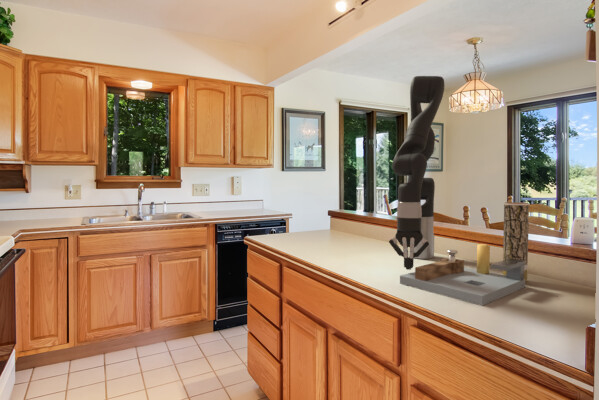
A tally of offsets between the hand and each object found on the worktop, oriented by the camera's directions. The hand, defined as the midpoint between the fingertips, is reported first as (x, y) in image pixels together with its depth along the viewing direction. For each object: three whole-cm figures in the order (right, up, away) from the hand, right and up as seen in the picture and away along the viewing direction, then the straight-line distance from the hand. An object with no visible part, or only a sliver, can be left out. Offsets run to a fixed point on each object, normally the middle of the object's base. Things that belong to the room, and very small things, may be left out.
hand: (408, 269), depth 119 cm
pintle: (+15, -4, +2) cm, 15 cm away
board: (+14, -4, -6) cm, 16 cm away
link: (+9, -1, -2) cm, 9 cm away
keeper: (+26, -4, -11) cm, 28 cm away
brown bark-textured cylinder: (+34, -4, -1) cm, 34 cm away
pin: (+24, -1, -1) cm, 24 cm away
